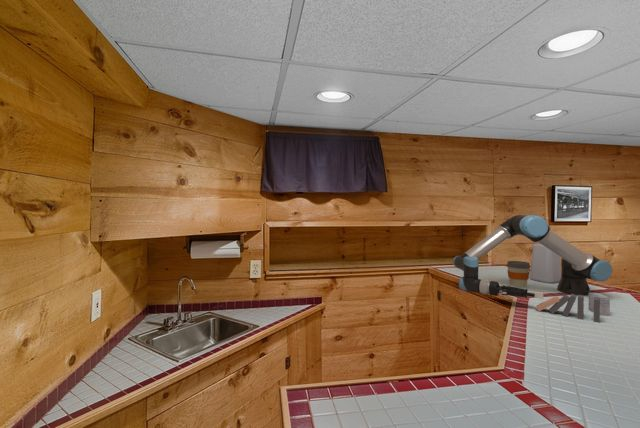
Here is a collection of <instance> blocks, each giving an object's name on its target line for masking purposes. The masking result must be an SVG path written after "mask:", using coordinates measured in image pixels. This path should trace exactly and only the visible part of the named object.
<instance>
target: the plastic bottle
mask: <svg viewBox="0 0 640 428" xmlns="http://www.w3.org/2000/svg"><path fill="white" fill-rule="evenodd" d="M531 251H532V252H531V260H530V269H529V272H530V273H529V279H530V280H532V281H535V282H536V281H537V282H540V283H545V284H555V283H556V284H557V283H559V282H560V279H561V257H560V256H559V255H557V254H556V253H554V252H553V251H551V250H550V249H548V248H547V247H545V246H544V245H542V244H541V243H539V242H538V243H533V245H532V250H531Z"/></svg>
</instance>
